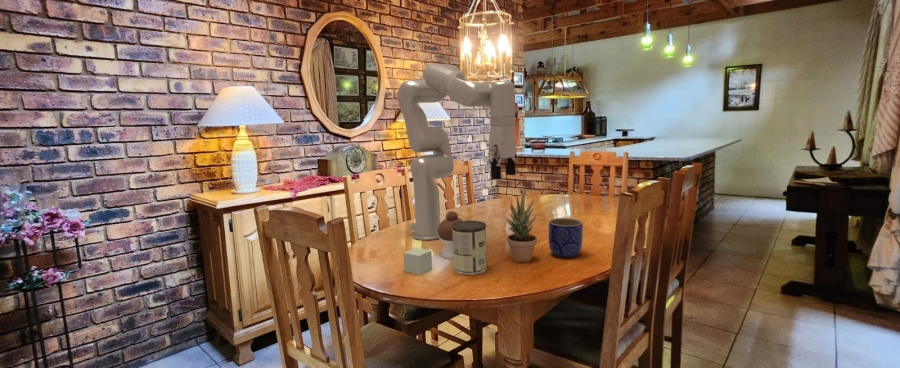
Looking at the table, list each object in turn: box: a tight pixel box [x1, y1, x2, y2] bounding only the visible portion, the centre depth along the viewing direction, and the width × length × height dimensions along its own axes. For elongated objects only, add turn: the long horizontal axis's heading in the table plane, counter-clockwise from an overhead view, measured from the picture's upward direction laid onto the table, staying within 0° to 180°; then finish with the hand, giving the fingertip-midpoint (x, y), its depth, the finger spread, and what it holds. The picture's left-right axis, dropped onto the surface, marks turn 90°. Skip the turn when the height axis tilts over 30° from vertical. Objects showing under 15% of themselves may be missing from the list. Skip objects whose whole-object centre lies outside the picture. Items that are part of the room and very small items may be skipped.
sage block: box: [403, 247, 433, 276], centre depth 139 cm, size 6×6×6 cm
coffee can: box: [452, 220, 488, 276], centre depth 137 cm, size 10×10×14 cm
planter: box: [547, 217, 584, 259], centre depth 149 cm, size 11×11×11 cm
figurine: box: [438, 210, 463, 260], centre depth 152 cm, size 10×9×15 cm
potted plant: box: [505, 183, 538, 263], centre depth 145 cm, size 10×10×25 cm
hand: (503, 176), depth 143 cm, fingers open, 9 cm apart
